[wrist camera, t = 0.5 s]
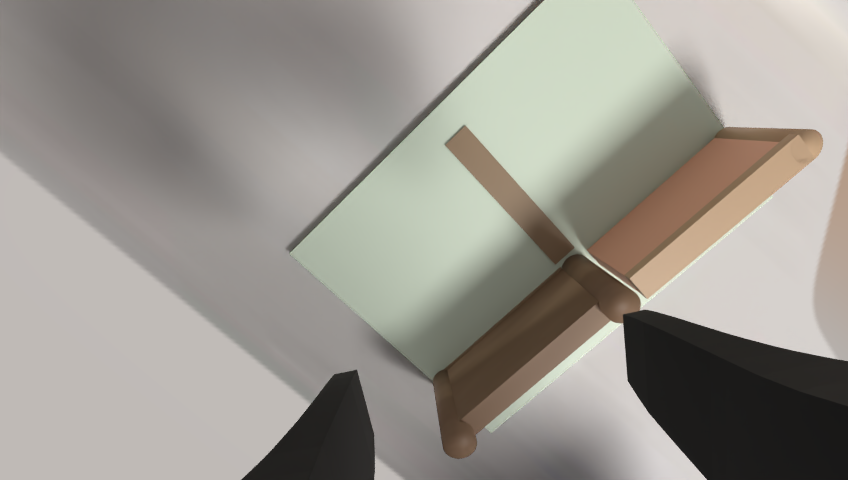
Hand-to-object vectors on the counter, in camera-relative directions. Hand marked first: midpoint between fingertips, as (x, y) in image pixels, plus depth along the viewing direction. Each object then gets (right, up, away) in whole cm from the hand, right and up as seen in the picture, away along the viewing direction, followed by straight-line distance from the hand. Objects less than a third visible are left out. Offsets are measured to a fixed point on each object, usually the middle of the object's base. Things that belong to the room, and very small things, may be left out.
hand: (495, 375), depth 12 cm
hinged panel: (+9, +6, +9) cm, 14 cm away
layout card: (+3, +4, +9) cm, 11 cm away
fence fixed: (+2, -1, +10) cm, 10 cm away
